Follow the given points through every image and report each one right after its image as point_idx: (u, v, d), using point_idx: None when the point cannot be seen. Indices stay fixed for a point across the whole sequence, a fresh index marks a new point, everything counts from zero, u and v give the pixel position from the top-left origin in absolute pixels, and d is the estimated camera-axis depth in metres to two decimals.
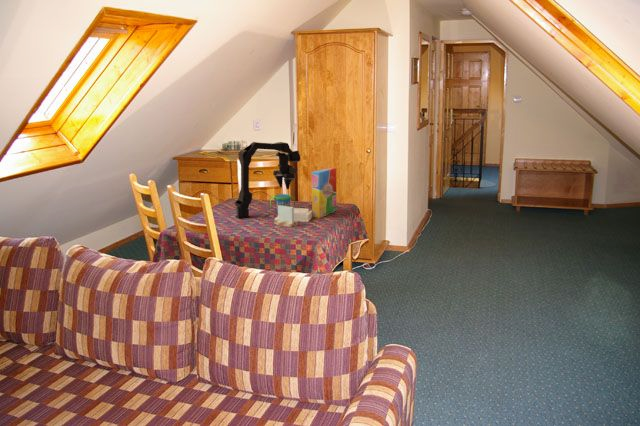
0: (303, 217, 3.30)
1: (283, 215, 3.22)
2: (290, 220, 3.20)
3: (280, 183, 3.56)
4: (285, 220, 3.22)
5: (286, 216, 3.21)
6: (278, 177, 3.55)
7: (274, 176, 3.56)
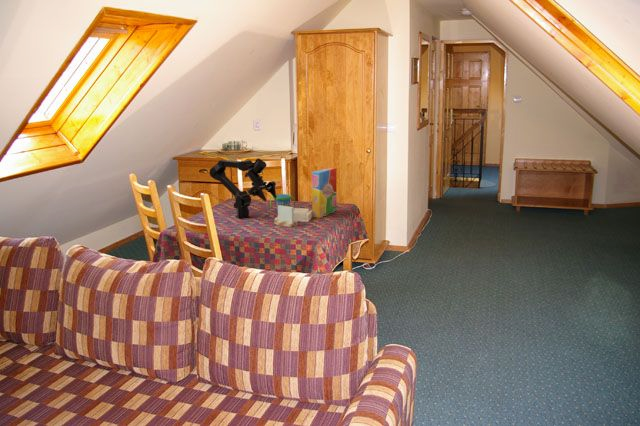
0: (303, 217, 3.30)
1: (283, 215, 3.22)
2: (290, 220, 3.20)
3: None
4: (285, 220, 3.22)
5: (286, 216, 3.21)
6: None
7: (258, 189, 3.20)
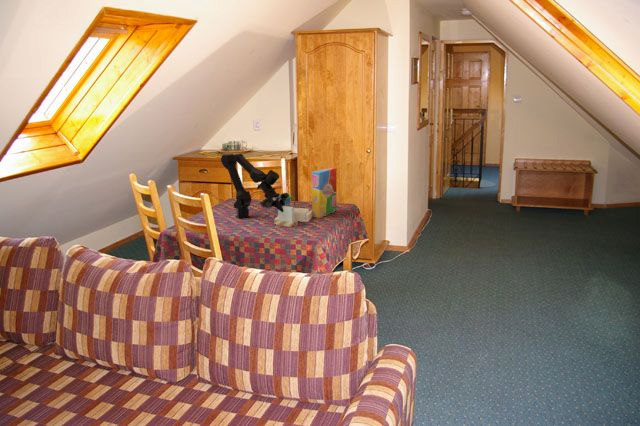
0: (303, 217, 3.30)
1: (283, 215, 3.22)
2: (290, 220, 3.20)
3: None
4: (285, 220, 3.22)
5: (286, 216, 3.21)
6: None
7: (275, 200, 3.19)
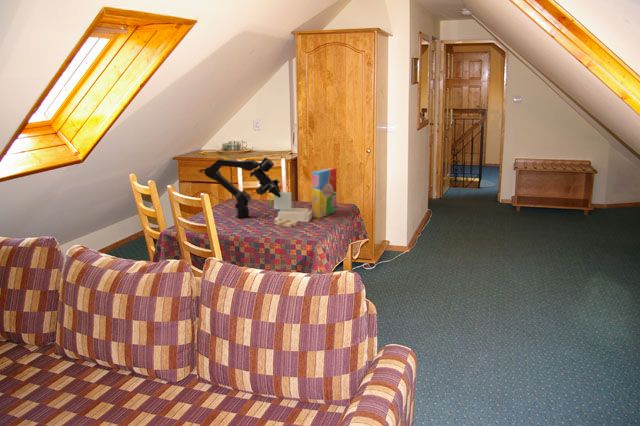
0: (303, 217, 3.30)
1: (280, 201, 3.34)
2: (288, 205, 3.33)
3: None
4: (282, 205, 3.34)
5: (284, 201, 3.34)
6: None
7: (274, 186, 3.29)
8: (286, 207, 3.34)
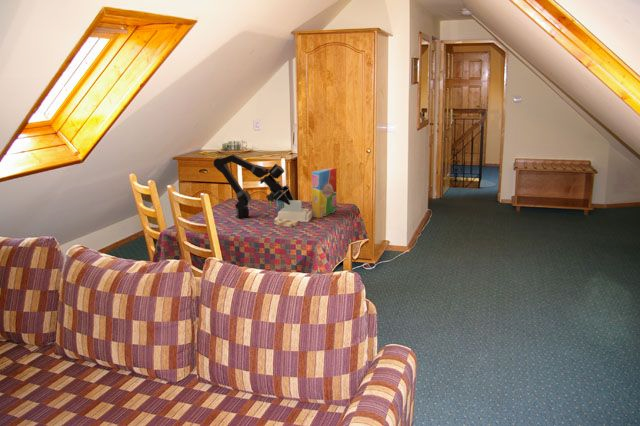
0: (303, 217, 3.30)
1: (290, 209, 3.35)
2: None
3: None
4: None
5: (294, 209, 3.35)
6: None
7: (283, 194, 3.27)
8: None
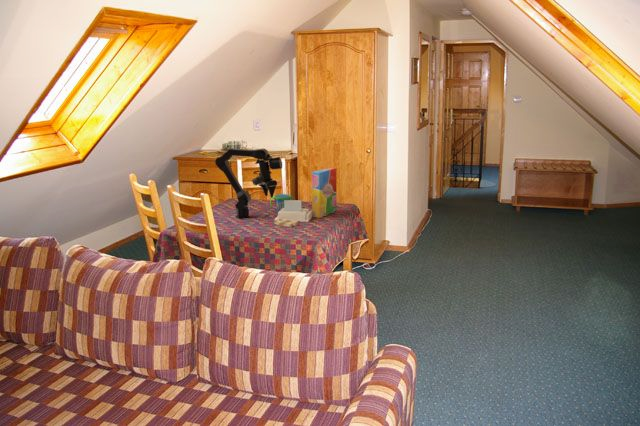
0: (303, 217, 3.30)
1: (290, 209, 3.35)
2: None
3: None
4: None
5: (294, 209, 3.35)
6: None
7: (276, 185, 3.29)
8: None
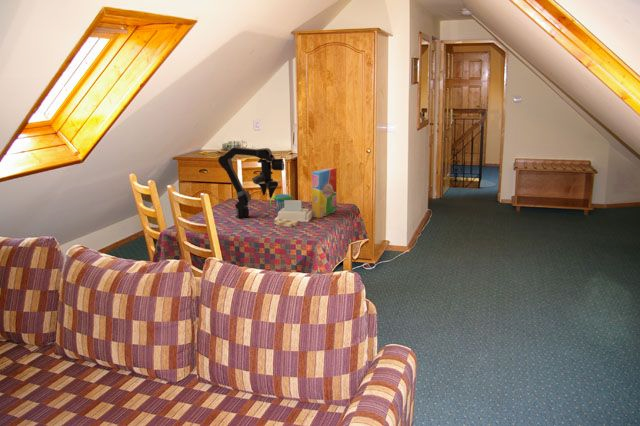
0: (303, 217, 3.30)
1: (290, 209, 3.35)
2: None
3: None
4: None
5: (294, 209, 3.35)
6: None
7: None
8: None
